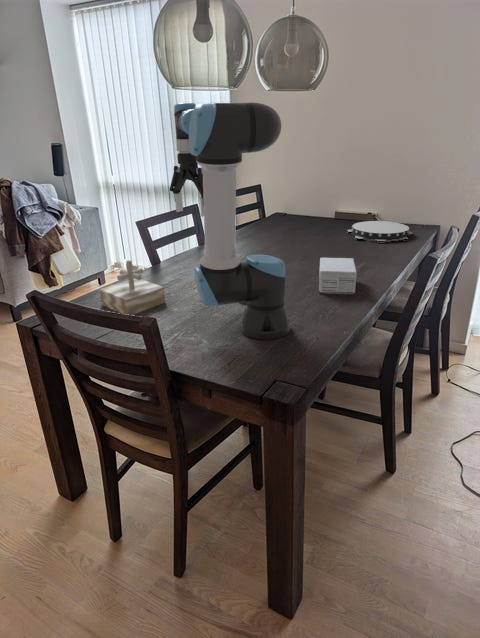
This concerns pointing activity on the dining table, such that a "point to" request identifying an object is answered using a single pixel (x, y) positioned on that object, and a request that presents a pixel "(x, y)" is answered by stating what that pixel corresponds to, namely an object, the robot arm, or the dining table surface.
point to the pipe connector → (130, 274)
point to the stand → (132, 296)
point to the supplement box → (337, 275)
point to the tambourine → (380, 230)
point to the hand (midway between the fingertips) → (191, 213)
